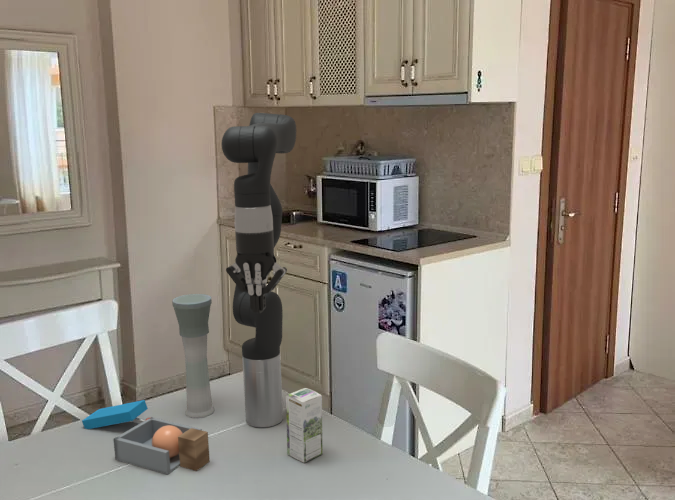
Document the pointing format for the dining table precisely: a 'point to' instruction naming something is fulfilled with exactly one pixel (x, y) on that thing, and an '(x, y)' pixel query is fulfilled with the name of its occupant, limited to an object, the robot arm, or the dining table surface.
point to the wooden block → (193, 449)
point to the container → (195, 351)
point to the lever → (116, 415)
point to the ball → (167, 439)
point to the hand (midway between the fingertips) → (258, 311)
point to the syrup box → (304, 424)
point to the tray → (147, 446)
